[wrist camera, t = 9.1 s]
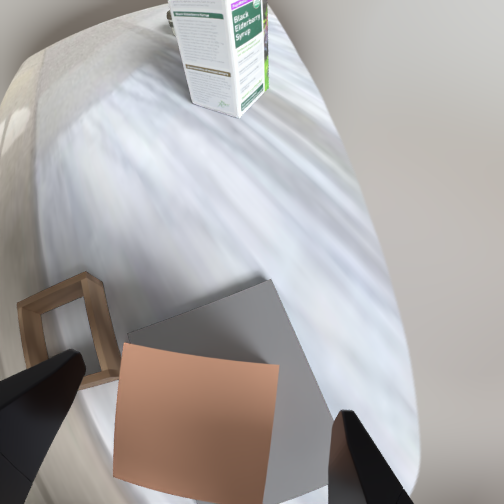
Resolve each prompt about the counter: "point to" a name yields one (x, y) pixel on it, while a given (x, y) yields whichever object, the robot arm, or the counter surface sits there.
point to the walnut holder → (97, 319)
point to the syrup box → (223, 51)
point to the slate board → (266, 352)
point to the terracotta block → (194, 425)
